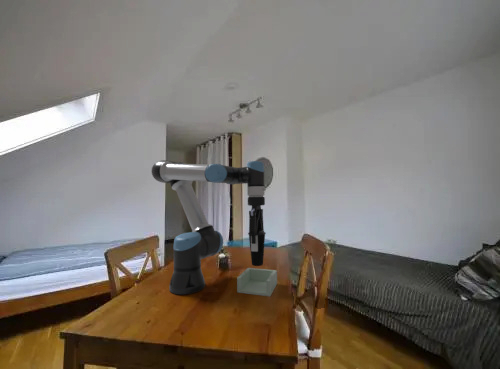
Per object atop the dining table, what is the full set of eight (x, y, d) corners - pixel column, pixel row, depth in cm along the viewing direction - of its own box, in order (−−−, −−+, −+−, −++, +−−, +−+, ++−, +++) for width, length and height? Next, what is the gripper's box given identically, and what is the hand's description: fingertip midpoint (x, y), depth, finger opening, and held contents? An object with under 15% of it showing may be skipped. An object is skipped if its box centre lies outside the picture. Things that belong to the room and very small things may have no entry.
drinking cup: (267, 262, 104) (266, 217, 105) (264, 267, 96) (263, 219, 97) (250, 261, 105) (249, 217, 106) (247, 266, 98) (246, 218, 99)
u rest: (237, 292, 97) (237, 277, 97) (248, 280, 110) (247, 267, 110) (270, 296, 92) (269, 281, 93) (277, 283, 106) (276, 270, 106)
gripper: (258, 196, 92) (259, 255, 90) (269, 196, 110) (270, 244, 109) (240, 196, 94) (241, 254, 93) (254, 196, 113) (255, 244, 112)
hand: (257, 249), depth 101 cm, fingers closed on drinking cup, 7 cm apart
